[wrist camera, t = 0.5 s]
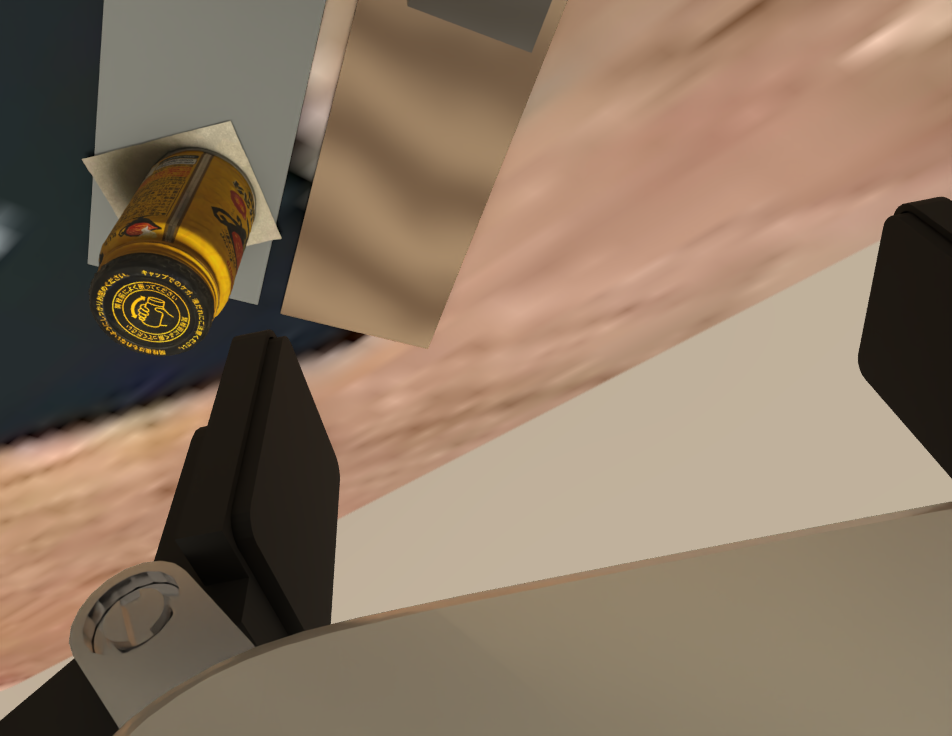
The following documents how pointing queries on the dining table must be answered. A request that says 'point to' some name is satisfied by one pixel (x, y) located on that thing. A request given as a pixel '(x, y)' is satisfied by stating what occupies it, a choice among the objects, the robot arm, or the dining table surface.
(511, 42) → the strip empty
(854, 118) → the dining table surface
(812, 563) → the robot arm
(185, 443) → the dining table surface
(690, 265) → the dining table surface
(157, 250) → the condiment
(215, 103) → the strip
